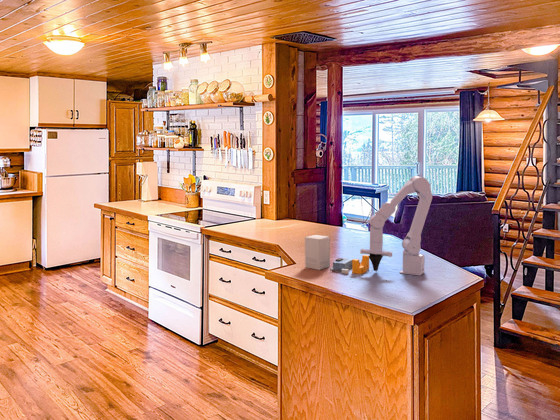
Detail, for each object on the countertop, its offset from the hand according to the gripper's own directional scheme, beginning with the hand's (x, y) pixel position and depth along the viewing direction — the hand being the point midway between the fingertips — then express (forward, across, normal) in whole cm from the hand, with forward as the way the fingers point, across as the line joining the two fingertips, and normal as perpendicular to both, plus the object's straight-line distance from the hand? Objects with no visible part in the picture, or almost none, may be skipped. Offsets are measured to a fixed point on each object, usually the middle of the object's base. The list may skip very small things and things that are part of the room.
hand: (375, 270), depth 223 cm
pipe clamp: (+2, +6, 0) cm, 7 cm away
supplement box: (+1, +28, +3) cm, 28 cm away
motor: (+1, +15, 0) cm, 15 cm away
